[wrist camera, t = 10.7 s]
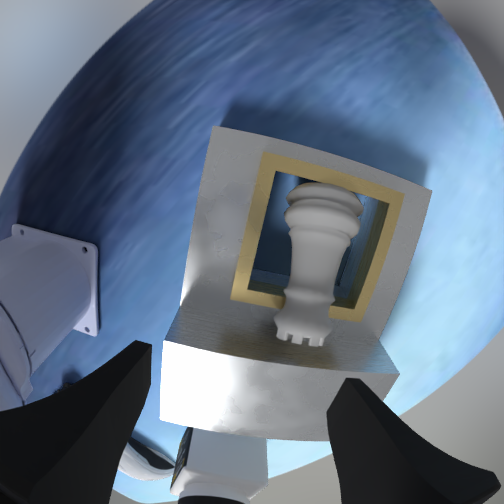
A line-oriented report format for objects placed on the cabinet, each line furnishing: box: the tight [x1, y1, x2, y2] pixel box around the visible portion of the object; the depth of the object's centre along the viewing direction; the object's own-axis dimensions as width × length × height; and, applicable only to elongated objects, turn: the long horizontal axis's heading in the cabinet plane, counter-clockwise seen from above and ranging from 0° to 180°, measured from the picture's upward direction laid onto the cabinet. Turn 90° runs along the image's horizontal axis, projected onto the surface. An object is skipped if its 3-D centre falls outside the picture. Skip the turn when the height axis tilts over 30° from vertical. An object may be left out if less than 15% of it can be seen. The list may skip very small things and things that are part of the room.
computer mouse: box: [57, 383, 175, 481], centre depth 24 cm, size 10×18×4 cm, turn 43°
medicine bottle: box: [170, 426, 268, 504], centre depth 19 cm, size 7×7×12 cm
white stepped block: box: [160, 126, 432, 441], centre depth 17 cm, size 14×18×6 cm
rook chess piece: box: [273, 182, 364, 347], centre depth 15 cm, size 4×4×8 cm
